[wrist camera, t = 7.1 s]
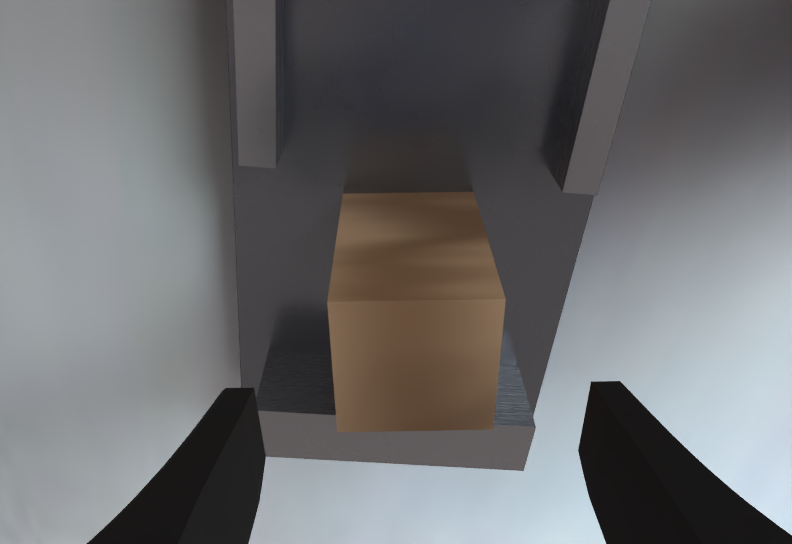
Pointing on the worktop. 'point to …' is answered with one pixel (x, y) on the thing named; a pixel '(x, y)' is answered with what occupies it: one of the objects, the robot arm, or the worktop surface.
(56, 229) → the worktop surface
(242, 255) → the press frame
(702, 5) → the worktop surface
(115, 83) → the worktop surface
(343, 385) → the block
